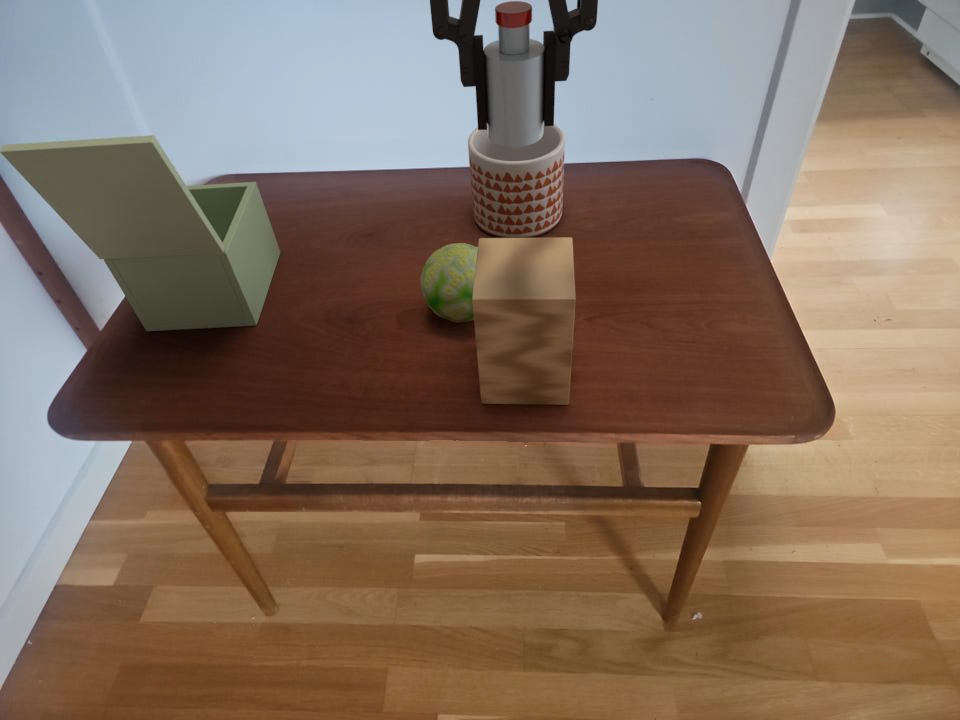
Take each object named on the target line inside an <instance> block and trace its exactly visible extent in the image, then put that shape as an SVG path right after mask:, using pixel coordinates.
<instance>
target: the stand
mask: <svg viewBox="0 0 960 720" xmlns="http://www.w3.org/2000/svg"><path fill="white" fill-rule="evenodd" d="M573 241H574V240H573V237H571V236H570V237H565V236H562V237H561V236H560V237H557V236H556V237H532V238H500V237H479V238H478V243H477V247H478V251H477V260H476V269H475V278H474V287H473V296H472V304H473V315H474V320H473V324H474V325H473V326H474V336H475V337H474V338H475V347H476V348H475V349H476V358H477V368H478V369H477V372H478V381H479V392H480V403H481V405H482V404H483V405H547V406H558V405H559V406H568V405H570V394H571V393H570V391H571V378H572V377H571V376H572V375H571V374H572V362H573V361H572V360H573V345H574V331H575V315H576V297H577V296H576V283H575V282H576V281H575V280H576V279H575V265H574V264H575V263H574V243H573Z"/></svg>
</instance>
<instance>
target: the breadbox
mask: <svg viewBox="0 0 960 720" xmlns="http://www.w3.org/2000/svg"><path fill="white" fill-rule="evenodd" d="M186 186H187V188H188V189H189V191H190V193H191V194H192V196H193V197H194V199H195V200H196V202H197V203H198V205H199V207H200V208H201V210H202V211H203V213H204V214H205V216H206V218H207V219H208V221H209V222H210V224H211V225H212V227H213V229H214V230H215V232H216V233H217V235H218V236H219V238H220V240H221V241H222V243H223V244H224V246H225V247H224V252H221V253H203V254H186V255H168V256H151V257H133V258H116V259H103V262H104V263H105V265H106V267H107V268H108V270H109V271H110V273H111V275H112V277H113V278H114V279H115V281H116V283H117V284H118V286H119V288H120V290H121V291H122V293H123V294H124V296H125V298H126V300H127V301H128V303H129V305H130V307H131V308H132V310H133V311H134V313H135V315H136V316H137V318H138V319H139V321H140V323H141V325H142V326H143V328H144V330H145V331H146V332H159V331H160V332H161V331H178V330H179V331H180V330H199V329H215V328H216V329H217V328H233V327H234V328H235V327H237V328H238V327H254V326H258V323H259V320H260V317H261V313H262V312H263V311H262V310H263V308H264V305H265V302H266V298H267V295H268V292H269V290H270V286H271V283H272V280H273V277H274V274H275V270H276V268H277V264H278V261H279V258H280V255H281V249H280V246H279V244H278V241H277V239H276V235H275V233H274V232H275V231H274V230H273V227H272V224H271V221H270V218H269V215H268V213H267V209H266V207H265V204H264V201H263V198H262V195H261V193H260V189H259V186H258V184H257V182H256V181H246V182H231V183H229V182H228V183H212V184H195V185H186Z"/></svg>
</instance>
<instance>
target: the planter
mask: <svg viewBox="0 0 960 720" xmlns="http://www.w3.org/2000/svg"><path fill="white" fill-rule="evenodd" d="M467 150H468V152H467V153H468V161H469V163H468V164H469V175H470V186H471V188H470V189H471V199H472V200H471V201H472V213H473V219H474V222H475V224H476V225H477V226H478V227H479V228H480V229H481V230H482V231H484V232H485V233H487V234H489V235H491V236H494V237H495V238H537V237H538V236H541V235H544V234H546V233H549V232H550V231H551V230H553V229H554V228H555V227H556V226H557V225H558V224H559V222H560V221H561V219H562V216H563V207H564V206H563V205H564V204H563V202H564V179H565V155H566V154H565V153H566V152H565V151H566V136H565V134H564V132H563V130H562V129H561V128H560V127H559V126H558V125H557V124H555V123H554V126H545V125H544V133H543V136H542V138H541V139H540V140H539V141H537V142H536V143H534V144H531V145H528V146H524V147H504V146H500V145H497V144H495V143H493V142H491V141H490V140H489V138H488V135H487V130H478V126H477V127H476V128H475V129H473V130H472V132H471V133H470V134H469V136H468V139H467Z"/></svg>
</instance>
